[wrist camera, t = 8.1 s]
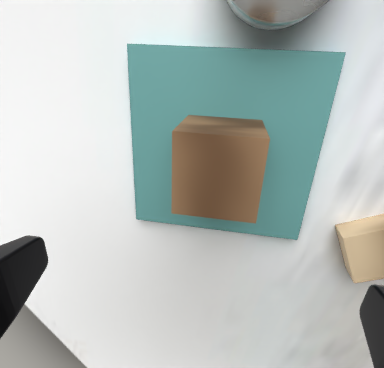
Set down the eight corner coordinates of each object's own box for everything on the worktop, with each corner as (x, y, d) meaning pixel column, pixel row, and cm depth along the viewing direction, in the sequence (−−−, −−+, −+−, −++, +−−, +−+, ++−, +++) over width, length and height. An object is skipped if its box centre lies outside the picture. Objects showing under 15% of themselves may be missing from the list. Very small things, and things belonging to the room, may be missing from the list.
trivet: (340, 52, 14) (345, 52, 14) (295, 233, 20) (297, 239, 19) (132, 44, 16) (127, 43, 15) (139, 213, 21) (136, 219, 20)
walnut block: (262, 120, 16) (270, 138, 12) (251, 187, 18) (255, 223, 14) (188, 114, 16) (171, 131, 12) (186, 180, 18) (171, 213, 14)
